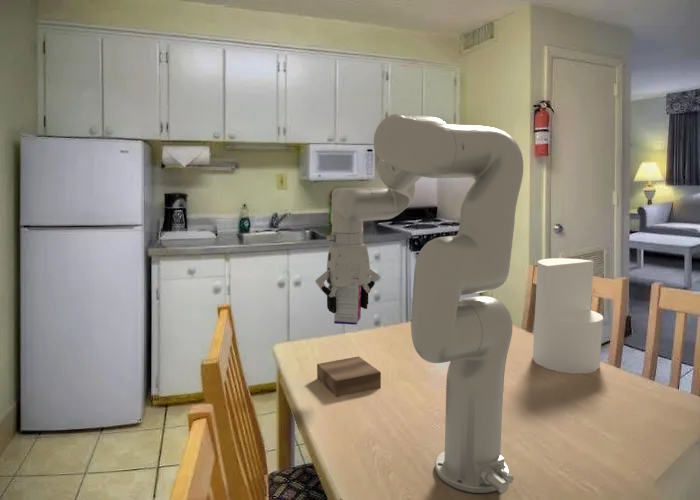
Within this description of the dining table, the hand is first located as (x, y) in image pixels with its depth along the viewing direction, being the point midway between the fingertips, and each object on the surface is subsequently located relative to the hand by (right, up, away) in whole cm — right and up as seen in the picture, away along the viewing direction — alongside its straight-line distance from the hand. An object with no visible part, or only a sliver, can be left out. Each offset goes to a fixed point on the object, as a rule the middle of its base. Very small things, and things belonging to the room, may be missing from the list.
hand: (348, 309), depth 123 cm
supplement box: (0, -3, 0) cm, 3 cm away
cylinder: (+61, -17, +17) cm, 66 cm away
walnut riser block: (0, -19, +3) cm, 19 cm away
